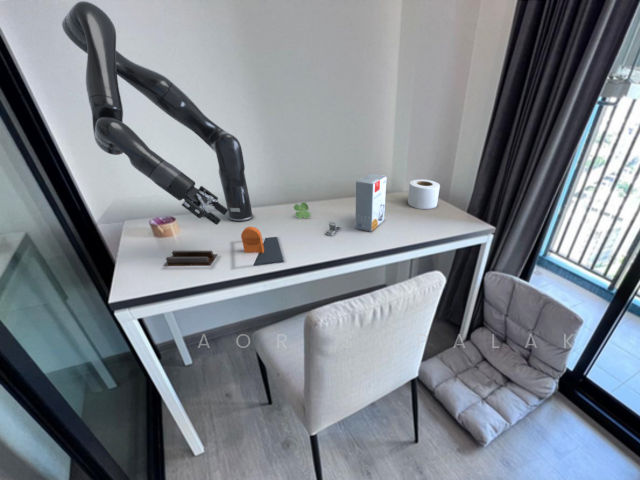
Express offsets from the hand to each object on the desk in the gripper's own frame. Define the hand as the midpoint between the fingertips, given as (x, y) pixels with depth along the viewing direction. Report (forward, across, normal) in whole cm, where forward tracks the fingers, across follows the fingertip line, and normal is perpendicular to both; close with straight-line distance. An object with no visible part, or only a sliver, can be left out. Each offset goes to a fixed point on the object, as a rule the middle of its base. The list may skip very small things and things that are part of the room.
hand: (222, 217), depth 106 cm
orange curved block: (+14, 0, -3) cm, 15 cm away
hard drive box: (+46, -27, +26) cm, 59 cm away
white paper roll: (+67, -56, +47) cm, 99 cm away
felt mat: (+15, -1, -4) cm, 15 cm away
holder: (+2, +6, -17) cm, 18 cm away
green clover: (+25, -36, +6) cm, 44 cm away
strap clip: (+34, -19, +15) cm, 42 cm away
